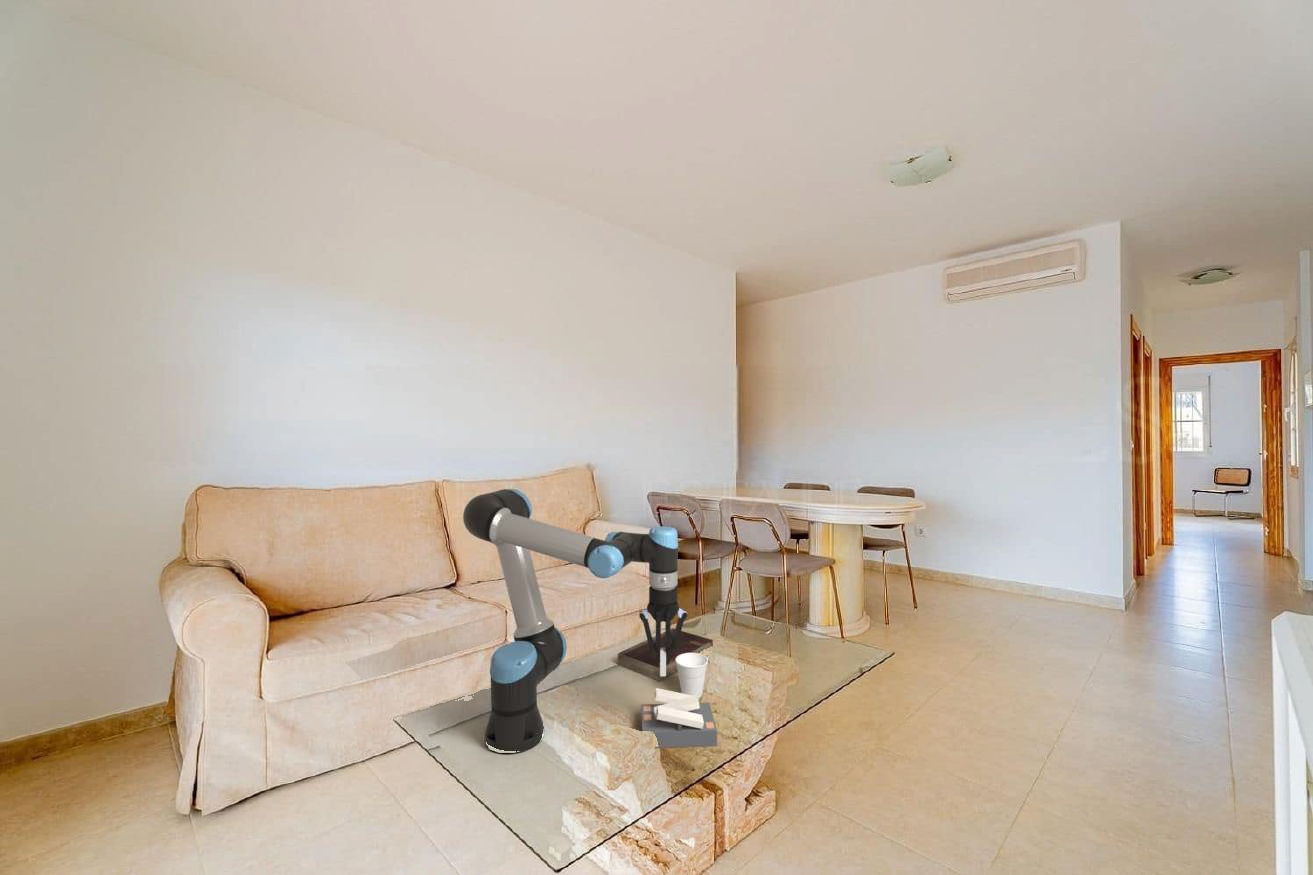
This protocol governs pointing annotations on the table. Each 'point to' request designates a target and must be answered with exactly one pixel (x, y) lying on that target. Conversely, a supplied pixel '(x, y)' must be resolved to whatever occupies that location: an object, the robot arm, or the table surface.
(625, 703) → the table surface
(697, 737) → the switch unit
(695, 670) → the cup
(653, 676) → the dark brown tray
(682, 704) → the white block
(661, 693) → the rocker
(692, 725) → the rocker
